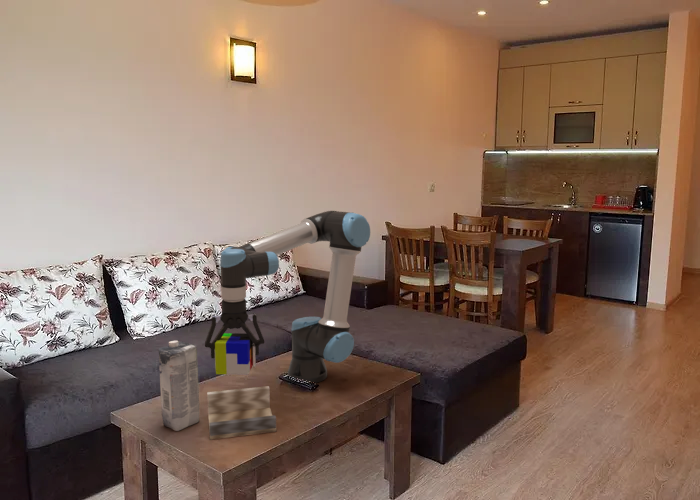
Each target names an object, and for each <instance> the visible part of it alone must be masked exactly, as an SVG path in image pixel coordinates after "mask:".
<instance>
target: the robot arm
mask: <svg viewBox="0 0 700 500" xmlns="http://www.w3.org/2000/svg"><path fill="white" fill-rule="evenodd" d="M370 237H371V226H370V222H369V221H368V220H367V218H366V217H365V216H364V215H362V214H360V213H355V212H346V211H337V210H326V211H323V212H320V213H317V214H314V215H311V216H309V217H305V218H304V219H302V220H301V221H300V223H298V224H295V225H293V226H290V227H287V228H285V229H283V230H281V231H278V232H274V233H272V234H269V235H267V236H264V237H262V238H260V239H257V240H254V241H251V242H249V243H246V244H243V245H240V246H234V245H233V246H228V247H226V248H225V249H224V250H221V253H220V264H219V267H220V283H221V284H220V289H221V290H220V291H221V293H220V295H221V297H220V298H221V315H215V314H214V315H211V323H210V328H209V330H208V333H207V336H206V338H205V340H204V341H205V342H204V347H205V348H208V349H210V358H211V359H214V370H216V360H215V342H216V341H217V340H220V339H221V337H222V336H223V334H224V333H226V332H227V330H228V329H230V330H233V329H241V328H242V330H243V331H244V333H245V334H247V335H248V336H249V338H251V340H252V342H253V344H252V359H253V366H252V367H256V356H259V355H260V345H264V344H265V339H264V336H263V334H262V331H261V329H260V327H259V324H258V322H257V320H258V319H257V318H258V317H257V314H256V313H255V312H253V313H252V314H248V312H247V299H246V298H247V279H251V278H258V277H265V276H266V277H267V276H270V275H274V274H276V273H277V272H278V270H279V268H280V261H279V257H278V255H281V254H283V253H286V252H288V251H291V250H293V249H295V248H298V247H301V246H303V245H305V244H315V243H317V242H329V244H328V245H329V246H328V248H329V249H330V251H331V252H332V254H331V255H332V256H331V262H330V270H329V276H328V280H327V281H328V283H327V289H326V295H325V302H324V303H325V305H324V309H323V310H324V311H323V316H322V317H320V316H304V317H300V318H296V319H294V320H293V321H292V323H291V329H290V331H291V360H290V363H289V365H288V369H287V376H288V375H289V376H291V377H294V378H298V379H304V380H307V381H311V382H315V383H314V384H316V383H320V382H323V381H324V380H326V379H327V378H328V370H327V366H326V364H325V361H327V362H331V363H336V364H337V363H342V362H344V361H346V359H347V358H348V357H350V356H351V353H352V352H353V351H354V350H353V349H354V347H355V339H354V338H355V337H353V335H352V334H351V333H350V328H351V325H350V324H349V322H348V314H349V313H348V312H349V306H350V300H351V292H352V284H353V279H354V272H355V264H356V259H357V255H359V254H360V253H361V252H362V247H364V246H366V245H367V243H368V242H369V240H370ZM248 319H249V320H250V322H252V324H253V327H254V329H255V332H256V334H257V336H258V339H257V338H256V336H255V335H254V333H253V332H252V330H251V329H250V328H249V326H247V324H246V322H247V320H248ZM219 321H221V322H222V323H223V324H222V326H221V328H220V329H219V331H218V332H217V334H216V336H215V337H214V339H213V340H212V337H213V336H214V335H213V334H214V332H215V328H216V325H217V324H218V323H219ZM211 340H212V341H211Z"/></svg>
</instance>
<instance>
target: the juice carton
mask: <svg viewBox="0 0 700 500" xmlns="http://www.w3.org/2000/svg"><path fill="white" fill-rule="evenodd" d="M168 345H169V346H162V347H159V348H158V349H157V350H158V365H159V366H158V368H159V370H158V371H159V385H160V386H159V387H160V388H159V389H160V403H161V418H162V423H163V425H164V426H165V427H167V428H170V429H171V430H174V431H176V432H180V431H181V430H184V429H185V428H187V427H190V426H193V425H195V424H197V423H199V422H200V395H199V394H200V391H199V390H200V389H199V372H198V371H199V365H198V346H197V345H194V344H191V343H189V342H185V341H178V340H171V341H168Z"/></svg>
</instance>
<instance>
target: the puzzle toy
mask: <svg viewBox="0 0 700 500" xmlns="http://www.w3.org/2000/svg"><path fill="white" fill-rule="evenodd" d="M252 344H254V343H253V342H252V340H251V338H249V336H248V335H247V334H246V332H244V333H241V332H240V333H239V332H238V333H236V332H235V333H232V332H231V333H229V332H227V333H226V332H225V333H224V334H223V336H222V337H221V339H220V340H217V341H216V342H215V358H214V361H215V360H216V369H215V375H239V376H240V375H242V376H243V375H246V376H247V375H249V373H250V372H251V369H252V368H253V367H254V366H253V359H252Z"/></svg>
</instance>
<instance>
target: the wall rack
mask: <svg viewBox="0 0 700 500" xmlns="http://www.w3.org/2000/svg"><path fill="white" fill-rule="evenodd" d="M206 394H207V415H208V430H209V431H208V432H209V440H219V439H225V438H226V439H227V438H235V437H242V436H251V435H261V434H266V433H275V432H277V416H276V415H275V414H272V410H271V405H270V404H271V401H270V400H271V397H270V396H271V395H270V385H265V386H259V387H258V386H256V387H247V388H236V389H226V390H216V391H207V393H206Z"/></svg>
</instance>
